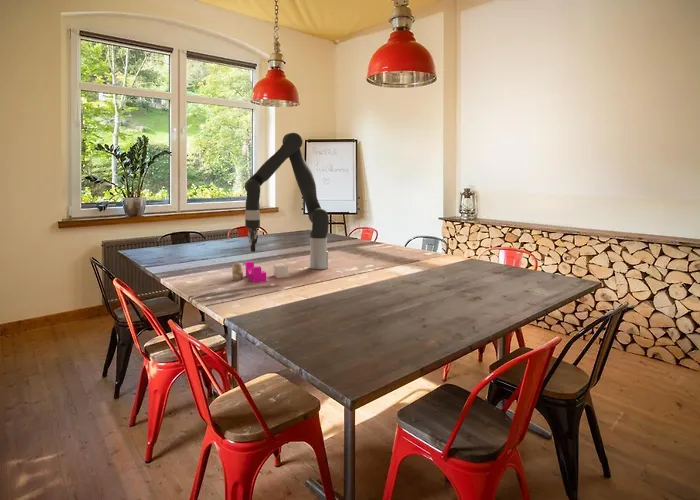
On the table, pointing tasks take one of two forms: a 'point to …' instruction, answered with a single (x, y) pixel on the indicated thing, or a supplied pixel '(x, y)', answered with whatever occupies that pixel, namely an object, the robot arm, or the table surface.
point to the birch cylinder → (237, 271)
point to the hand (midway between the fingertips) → (252, 251)
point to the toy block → (255, 273)
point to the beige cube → (280, 270)
